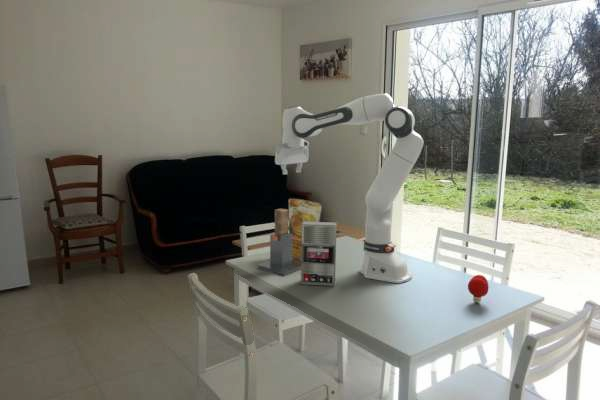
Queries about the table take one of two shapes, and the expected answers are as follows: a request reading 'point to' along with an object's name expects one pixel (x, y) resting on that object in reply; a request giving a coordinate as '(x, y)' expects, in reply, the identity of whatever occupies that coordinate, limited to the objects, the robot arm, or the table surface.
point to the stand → (280, 256)
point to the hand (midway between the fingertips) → (291, 173)
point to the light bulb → (478, 287)
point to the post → (281, 222)
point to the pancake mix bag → (301, 221)
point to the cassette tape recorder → (318, 253)
